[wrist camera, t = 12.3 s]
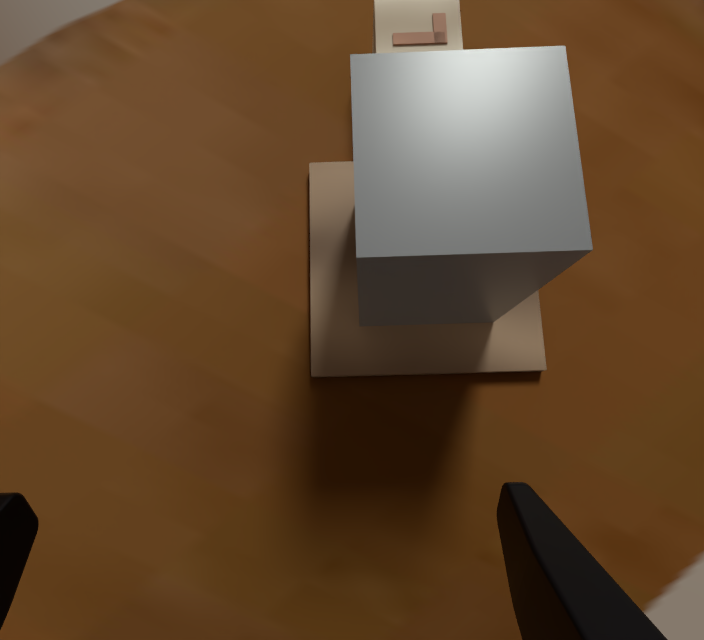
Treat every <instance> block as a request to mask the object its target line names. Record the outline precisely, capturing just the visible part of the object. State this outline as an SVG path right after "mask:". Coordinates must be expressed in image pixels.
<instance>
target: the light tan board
mask: <svg viewBox="0 0 704 640" xmlns="http://www.w3.org/2000/svg"><path fill="white" fill-rule="evenodd" d="M309 170H310V302H311V377H346V376H383V375H420V374H457V373H494V372H530V371H545V370H547V369H546V360H545V350H544V341H543V332H542V322H541V313H540V304H539V295H538V290H537V291H536V292H534V293H533V294H532V295H530V296H529V297H528V298H526V299H525V300H523V301H522V302H521V303H519V304H518V305H517V306H515V307H514V308H513V309H511V310H510V311H508V312H507V313H506V314H504V315H503V316H502V317H500V318H499V319H497V320H496V321H495V322H487V323H455V324H422V325H389V326H359V305H358V283H357V261H356V229H355V195H354V162H353V161H349V162H320V163H309Z"/></svg>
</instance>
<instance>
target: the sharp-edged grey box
mask: <svg viewBox="0 0 704 640" xmlns="http://www.w3.org/2000/svg"><path fill="white" fill-rule="evenodd" d="M350 60H351V94H352V128H353V162H354V195H355V229H356V261H357V283H358V305H359V326H389V325H422V324H455V323H487V322H495V321H496V320H497V319H499V318H500V317H502V316H503V315H504V314H506V313H507V312H508V311H510V310H511V309H513V308H514V307H515V306H517V305H518V304H519V303H521V302H522V301H523V300H525V299H526V298H528V297H529V296H530V295H532V294H533V293H534V292H536V291H537V290H539V289H540V288H541V287H543V286H544V285H545V284H547V283H548V282H549V281H551V280H552V279H554V278H555V277H556V276H558V275H559V274H560V273H562V272H563V271H564V270H566V269H567V268H569V267H570V266H571V265H573V264H574V263H575V262H577V261H578V260H580V259H581V258H582V257H584V256H585V255H586V254H588V253H589V252H590V251H592V250H593V248H592V240H591V233H590V226H589V218H588V211H587V204H586V196H585V189H584V181H583V174H582V167H581V159H580V152H579V144H578V137H577V130H576V122H575V115H574V108H573V100H572V93H571V85H570V78H569V71H568V63H567V56H566V48H565V46H547V47H522V48H498V49H473V50H449V51H424V52H399V53H375V54H350Z"/></svg>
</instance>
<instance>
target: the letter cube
mask: <svg viewBox="0 0 704 640" xmlns="http://www.w3.org/2000/svg"><path fill="white" fill-rule="evenodd" d="M449 50H463V44H462V31H461V18H460V5H459V0H374V14H373V54H375V53H399V52H424V51H449Z"/></svg>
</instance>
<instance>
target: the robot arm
mask: <svg viewBox="0 0 704 640" xmlns="http://www.w3.org/2000/svg"><path fill="white" fill-rule="evenodd" d="M497 522H498V528H499V533H500V539H501V544H502V550H503V555H504V560H505V566H506V571H507V577H508V582H509V587H510V593H511V598H512V603H513V607H514V611H515V615H516V619H517V622H518V626H519V629H520V633H521V636H522V639H523V640H667V639H666V637H664V635H663V634H662V633H661V632H660V631H659V630H658V629H657V627H656V626H655V625H654V624H653V623H652V622H651V621H650V620H649V618H648V617H647V616H646V615H645V614H644V613H643V612H642V611H641V610H640V608H639V607H638V606H637V605H636V604H635V603H634V602H633V601H632V600H631V598H630V597H629V596H628V595H627V594H626V593H625V592H624V591H623V590H622V588H621V587H620V586H619V585H618V584H617V583H616V582H615V581H614V579H613V578H612V577H611V576H610V575H609V574H608V573H607V572H606V571H605V569H604V568H603V567H602V566H601V565H600V564H599V563H598V562H597V561H596V559H595V558H594V557H593V556H592V555H591V554H590V553H589V552H588V551H587V549H586V548H585V547H584V546H583V545H582V544H581V543H580V542H579V540H578V539H577V538H576V537H575V536H574V535H573V534H572V533H571V532H570V530H569V529H568V528H567V527H566V526H565V525H564V524H563V523H562V522H561V520H560V519H559V518H558V517H557V516H556V515H555V514H554V513H553V512H552V510H551V509H550V508H549V507H548V506H547V505H546V504H545V503H544V501H543V500H542V499H541V498H540V497H539V496H538V495H537V494H536V493H535V491H534V490H533V489H532V488H531V487H530V486H529V485H528V484H526V483H524V482H507V483H504V484H503V486H502V489H501V493H500V498H499V502H498V507H497ZM37 531H38V518H37V516H36V514H35V513H34V511H33V510H32V508H31V507H30V505H29V504H28V502H27V500H26V499H25V497H24V496H23V495H22V494H20V493H0V629H1V627H2V625H3V623H4V620H5V618H6V616H7V613H8V611H9V608H10V606H11V603H12V601H13V598H14V595H15V592H16V590H17V587H18V584H19V581H20V578H21V576H22V573H23V570H24V567H25V565H26V562H27V559H28V556H29V553H30V551H31V548H32V545H33V542H34V540H35V537H36V534H37Z"/></svg>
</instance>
